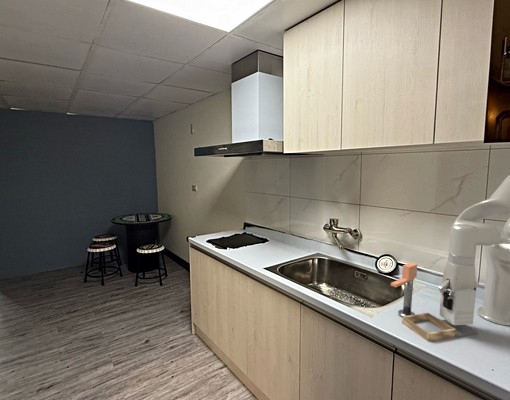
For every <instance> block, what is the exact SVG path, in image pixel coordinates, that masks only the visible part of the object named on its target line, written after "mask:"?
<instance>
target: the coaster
mask: <svg viewBox="0 0 510 400" xmlns="http://www.w3.org/2000/svg"><path fill="white" fill-rule="evenodd" d="M440 320H441V321H443V322H445V323H446V324H448V325H450V326H452V327H453V328H455V329H456V334H455V336H454V337H455V338H462V337H466V336H473V335H477V334H478V331H477V330H476V329H473V328H472V327H470V326H469V325H453V324H451V323H450V322H448V321H447V320H446V319H440Z"/></svg>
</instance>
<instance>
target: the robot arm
mask: <svg viewBox="0 0 510 400" xmlns="http://www.w3.org/2000/svg"><path fill="white" fill-rule="evenodd" d="M509 215H510V174H509V175H508V176H506V178H505V179H504V180H503V181H502V182H501V184H500V185H499V186H498V187H497V188H496V189H495V191H494V192H493V193H492V194H491V196H490V197H489V198H487V199H485V200H482V201H480V202H478V203H475V204H473V205H471V206H469V207H467V208H466V209H465V210H463V211H462V212H461V213H460V214H459V215H458V217H457V218H456V219H455V221H454V222H453V224H452V226H451V228H450V234H449V249H448V260H447V261H446V263H445V265H444V269H443V274H442V280H441V284H440V285H439V286H438V290H439V291H440V295H441V294H442V296H444V297H443V307H445V308H447V309H449V310H452V305H453V299H451V298H452V297H453V293H454V292H455V290H462V289H469V288H472V289H474V290H476V291H477V288H478V287H479V282H478V281H477V280H476V265H475V264H476V263H475V261H476V251H477V246H484V252H485V258H486V271H485V280H484V288H483V298H482V300H483V301H482V306H481V307H478V308H477V309H476V310H477V311H476V313H477V314H478V315H479V316H480V317H481V318H483V319H485V320H487V321H489V322H492V323H495V324H498V325H504V326H509V327H510V217H509V218H508V219H507V221H506V222H505V224H504V226H503V233H504V235H505V236H502V235H501V234H502V233H501V231H500V229H499V228H497V227H496V226H494V225H492V224H489V223H483V222H478V221H482V220H485V219H490V218H497V217H503V216H509ZM448 287H450V288H451V290H450V289H448ZM448 291H450V294H448Z"/></svg>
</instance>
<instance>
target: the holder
mask: <svg viewBox="0 0 510 400" xmlns="http://www.w3.org/2000/svg"><path fill="white" fill-rule="evenodd" d="M401 318H402V320H401V324H403V325H405V326H406V327H407V328H409V329H410V330H412V331H413V332H414V333H415V334H417V335H419V336H420V337H421V338H422V339H424V340H425V341H427V342H431V341H436V340H442V339H448V338H452V337H453V338H454V337H455V334H456V329H455V328H453V327H452V326H450V325H448V324H446V323H445V322H443V321H441V320H442V319H440V318H439V317H437V316H435V315H433V314H431V313H429V312H425V313H424V312H423V313H418V314H415V315H410V316H403V317H401ZM422 321H429V322H430V323H432V324H434V325H435V326H436V327H439V328H440V329H442V330H437V331H432V332H427V331H426V330H425V329H423V328H422V327H420V326H419V325H417V324H416V322H422Z"/></svg>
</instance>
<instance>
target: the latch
mask: <svg viewBox="0 0 510 400" xmlns="http://www.w3.org/2000/svg"><path fill="white" fill-rule="evenodd" d="M417 273H418V264H417V263H414V262H409V263H405V264H404V265H402V274H401V278H400V279H397V280H395V281H392V282H390V286H391V287H394V288H398V287H400V286H402V285H405V283H408V282H410V281H412V280H413V281H414V280H415V279H416V278H417Z"/></svg>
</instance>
